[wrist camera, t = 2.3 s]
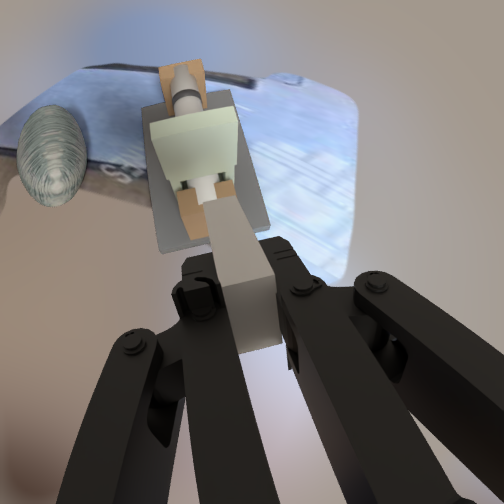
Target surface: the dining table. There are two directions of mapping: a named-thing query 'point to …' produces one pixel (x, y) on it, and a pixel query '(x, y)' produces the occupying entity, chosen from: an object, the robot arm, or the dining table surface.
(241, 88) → the dining table surface
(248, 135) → the dining table surface
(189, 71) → the rig
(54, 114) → the grey rounded lump
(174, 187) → the sleeve
